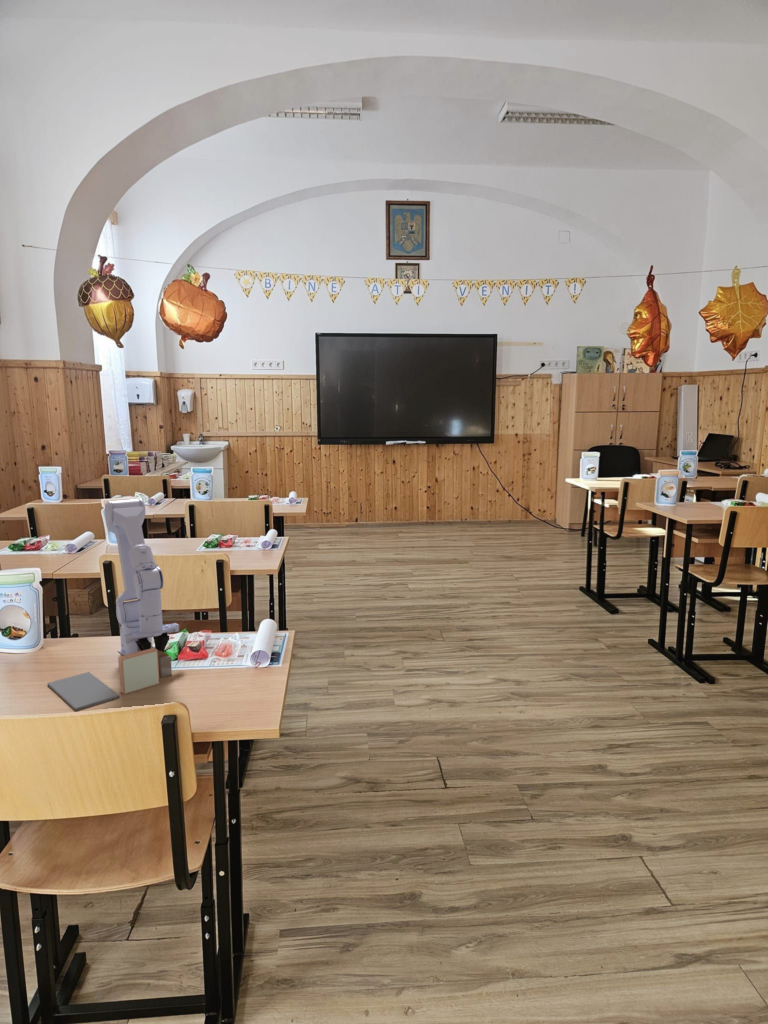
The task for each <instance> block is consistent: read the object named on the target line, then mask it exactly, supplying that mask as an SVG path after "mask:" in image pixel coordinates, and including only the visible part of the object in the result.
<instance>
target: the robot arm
mask: <svg viewBox="0 0 768 1024" xmlns="http://www.w3.org/2000/svg"><path fill="white" fill-rule="evenodd" d="M145 505H146V504H145V502H144V500H143V499H142V498H140V497H139V498H135V499H121V500H120V499H119V500H107V501H106V503H105V504H104V516H105V522H106V526H107V527H106V528H107V529H108V532H110V533H113V534H114V537H115V539H116V542H117V550H118V555H119V561H120V569H121V575H122V579H123V580H122V581H123V585H124V586H123V587H124V590H123V591H122V592H121V593H120V594H119V595H118V596H117V597H116V599H115V605H116V606H115V608H116V609H115V612H116V613H115V614H116V618H117V621H118V624H120V629H119V635H120V636H119V637H120V648H119V649H118V650H117V652H118V653H120V654H121V655H122V656H124V655H128V654H132V653H136V652H138V649H137V645H138V647H139V649H140V651H143V650H147V649H151V646H153V642H154V647H155V648H157V649H158V650H160V651H162V652H164V653H165V649H166V647H167V645H168V643H169V641H170V635H169V634H170V633H174V632H175V633H178V632H180V624H178V623H176V622H174V623H168V624H163V611H162V610H163V607H162V589H164V588H163V587H164V576H163V572H162V569H161V568H160V566H159V565H158V564H156V561H155V557H154V555H153V551H152V548H151V547H150V546H149V545H147V544H146V542H145V537H144V532H143V527H142V526H143V523H144V521H145V517H146V506H145Z"/></svg>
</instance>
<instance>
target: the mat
mask: <svg viewBox="0 0 768 1024" xmlns="http://www.w3.org/2000/svg"><path fill="white" fill-rule="evenodd" d="M47 686H48V687H49V688H50V689H51V690H52V691H53V692H54V693H56V694H57V695H58V696H59V697H60V698H61V699H62V700H63V701H64V702H65V703H67V705H68V706H70V708H72V709H73V710H74V711H79V710H83V709H86V708H89V707H92V706H96V705H99V704H102V703H106V702H109V700H110V701H113V700H116V699H119V698H120V694H118V693H117V692H116V691H114V690H113V689H112V688H111V687H109V686H108V685H106V684H105V683H104V682H103V681H101V680H100V679H99V678H97V677H96V676H95V675H93V674H92V673H90V672H89V671H87V672H84V673H79V674H77V675H76V674H75V675H72V676H69V677H68V676H67V677H65V678H64V677H63V678H61V679H57V680H53V681H50V682H47ZM118 697H119V698H118ZM112 699H113V700H112ZM105 701H106V702H105Z"/></svg>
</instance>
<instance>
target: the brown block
mask: <svg viewBox="0 0 768 1024" xmlns="http://www.w3.org/2000/svg"><path fill="white" fill-rule="evenodd" d="M151 648H155V646H153V645H152V646H151ZM137 649H138V652H139V651H140V649H139V647H138V645H137ZM155 649H157V648H155ZM157 650H158V649H157ZM158 666H159V677H161V678H163V679H164V678H166V677H169V676H172V675H173V673H172V671H173V670H172V656H170V655H169V654H167V653H165V651H164V652H162V651H160V650H158Z"/></svg>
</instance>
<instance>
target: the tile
mask: <svg viewBox="0 0 768 1024" xmlns="http://www.w3.org/2000/svg"><path fill="white" fill-rule="evenodd" d="M117 660H118V672H119V673H118V674H119V675H118V676H119V688H120V693H121V694H122V693H123V695H127V694H128V695H129V694H130V693H134V692H137V691H140V690H144V689H147V688H150V687H154V686H157V685H160V682H161V681H160V676H159V666H158V650H157V649H155V648H151V649H147V650H143V651H139V652H136V653H132V654H128V655H120V656H118V657H117Z"/></svg>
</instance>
